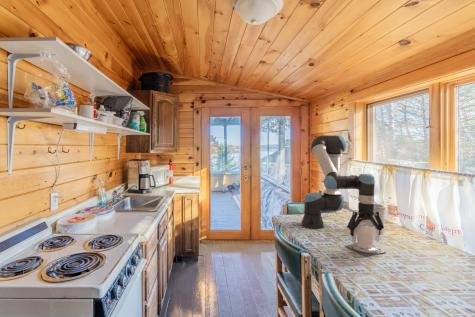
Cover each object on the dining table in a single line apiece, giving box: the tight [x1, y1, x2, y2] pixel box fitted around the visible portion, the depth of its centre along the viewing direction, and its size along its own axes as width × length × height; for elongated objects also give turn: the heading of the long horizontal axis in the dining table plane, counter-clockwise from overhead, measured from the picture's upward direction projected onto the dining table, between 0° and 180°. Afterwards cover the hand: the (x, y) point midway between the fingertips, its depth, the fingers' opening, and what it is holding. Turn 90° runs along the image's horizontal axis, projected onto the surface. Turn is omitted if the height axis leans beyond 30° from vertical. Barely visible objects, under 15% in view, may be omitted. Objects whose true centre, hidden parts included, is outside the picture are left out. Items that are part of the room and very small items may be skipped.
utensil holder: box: [360, 202, 386, 234], centre depth 167 cm, size 15×15×18 cm
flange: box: [344, 241, 387, 258], centre depth 135 cm, size 14×14×2 cm
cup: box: [355, 222, 375, 249], centre depth 134 cm, size 9×9×12 cm
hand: (365, 241), depth 134 cm, fingers open, 13 cm apart
